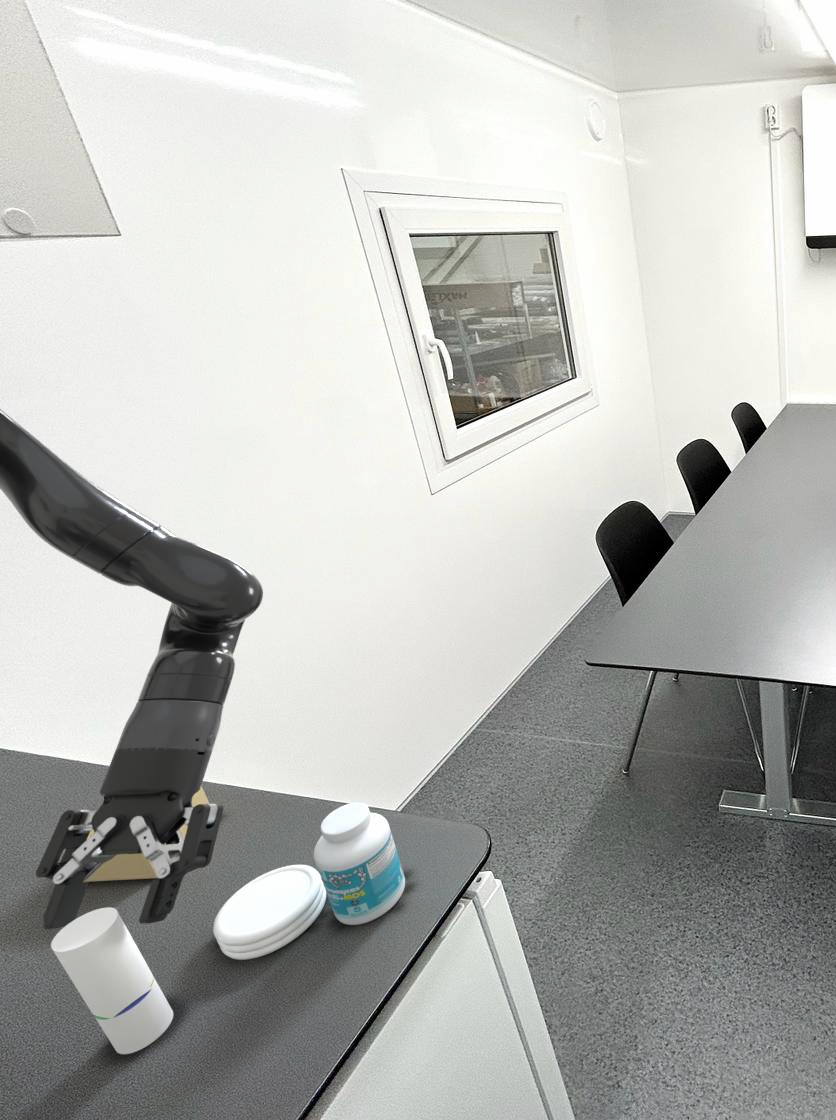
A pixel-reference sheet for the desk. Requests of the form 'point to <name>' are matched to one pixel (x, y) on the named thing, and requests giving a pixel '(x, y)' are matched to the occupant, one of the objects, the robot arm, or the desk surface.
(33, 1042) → the desk surface
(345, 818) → the pill bottle
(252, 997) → the desk surface
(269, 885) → the white round stack
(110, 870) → the bin
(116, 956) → the tube
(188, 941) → the desk surface
